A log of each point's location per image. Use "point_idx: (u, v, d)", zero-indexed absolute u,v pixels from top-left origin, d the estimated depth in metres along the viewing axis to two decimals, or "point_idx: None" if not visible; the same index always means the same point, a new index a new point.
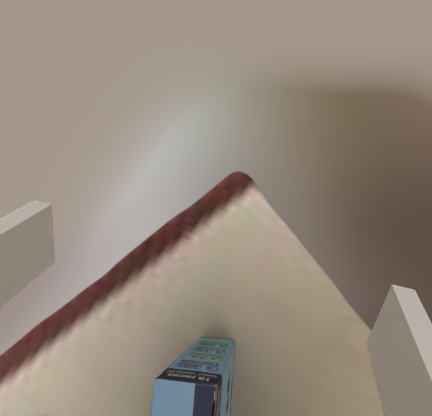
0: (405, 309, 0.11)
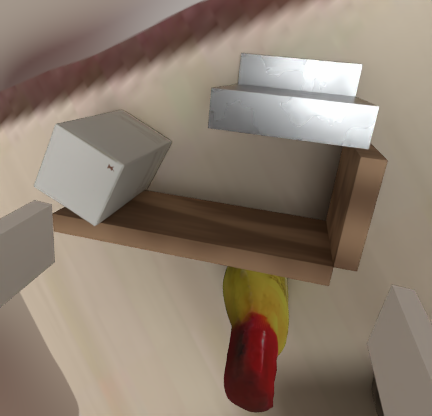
0: (405, 309, 0.11)
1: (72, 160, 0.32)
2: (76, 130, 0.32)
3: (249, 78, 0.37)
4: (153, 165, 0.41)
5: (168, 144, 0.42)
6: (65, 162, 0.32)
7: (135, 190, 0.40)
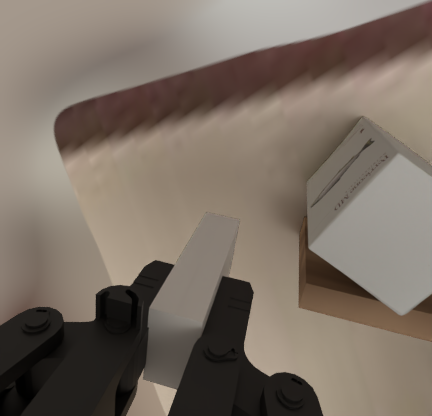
0: (218, 229, 0.14)
1: (407, 215, 0.19)
2: (420, 164, 0.18)
3: None
4: None
5: None
6: (393, 217, 0.19)
7: None
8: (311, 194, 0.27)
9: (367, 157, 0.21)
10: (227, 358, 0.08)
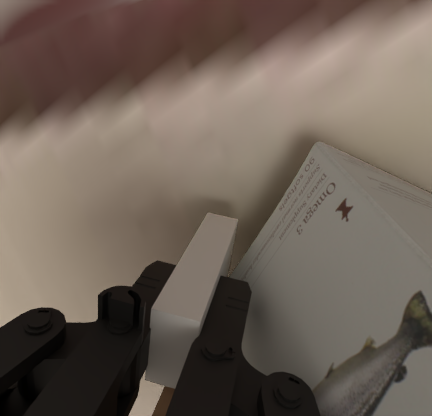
0: (217, 229, 0.14)
1: None
2: None
3: None
4: None
5: None
6: None
7: None
8: None
9: None
10: (225, 357, 0.08)
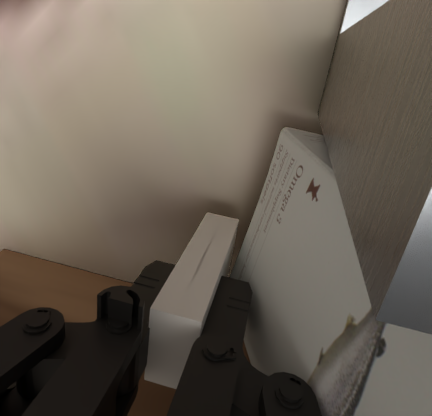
0: (218, 229, 0.14)
1: None
2: None
3: None
4: None
5: None
6: None
7: None
8: (260, 369, 0.11)
9: None
10: (226, 357, 0.09)
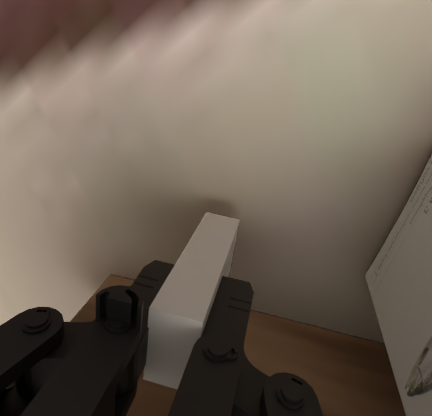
0: (218, 229, 0.14)
1: None
2: None
3: None
4: None
5: None
6: None
7: None
8: (391, 334, 0.13)
9: None
10: (227, 358, 0.08)
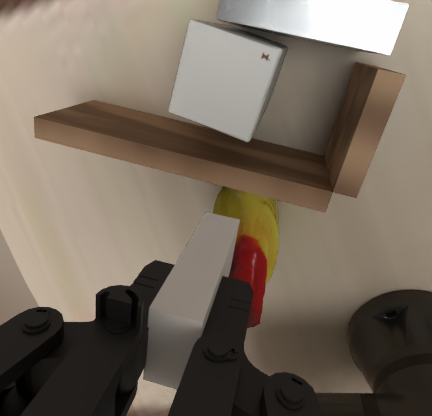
0: (218, 229, 0.14)
1: (214, 61, 0.27)
2: (212, 24, 0.26)
3: None
4: (278, 74, 0.35)
5: (286, 49, 0.36)
6: (206, 67, 0.27)
7: (266, 106, 0.34)
8: None
9: None
10: (227, 358, 0.08)
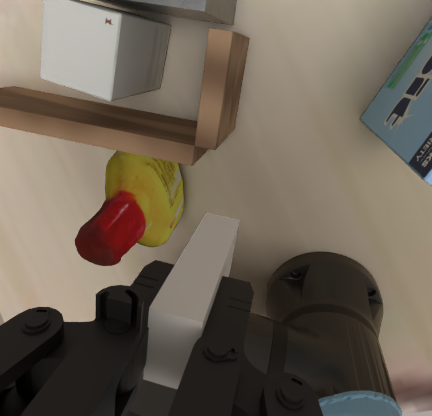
0: (218, 229, 0.14)
1: (68, 29, 0.30)
2: None
3: None
4: (157, 48, 0.38)
5: (168, 27, 0.39)
6: (63, 34, 0.31)
7: (145, 76, 0.38)
8: None
9: None
10: (227, 358, 0.08)
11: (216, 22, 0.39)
